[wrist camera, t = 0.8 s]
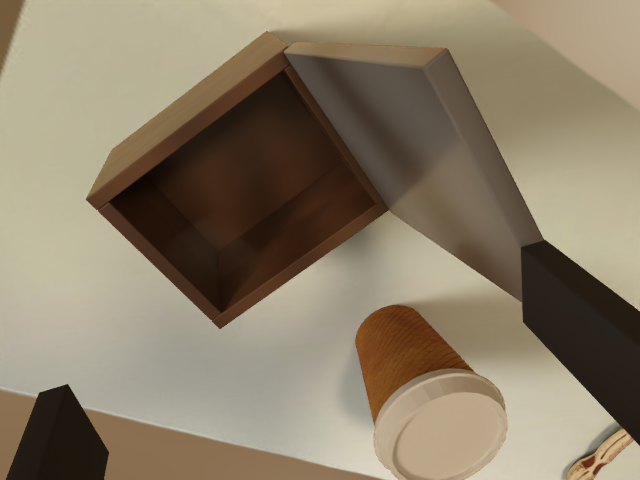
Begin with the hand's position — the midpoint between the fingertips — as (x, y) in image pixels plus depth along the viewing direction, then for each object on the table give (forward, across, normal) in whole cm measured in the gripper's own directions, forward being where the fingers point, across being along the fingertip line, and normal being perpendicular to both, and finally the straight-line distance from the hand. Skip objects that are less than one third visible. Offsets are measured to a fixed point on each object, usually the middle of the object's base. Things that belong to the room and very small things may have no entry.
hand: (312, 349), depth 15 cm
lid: (+7, +5, +1) cm, 9 cm away
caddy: (+23, -1, -1) cm, 23 cm away
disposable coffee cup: (+23, +7, -20) cm, 32 cm away
